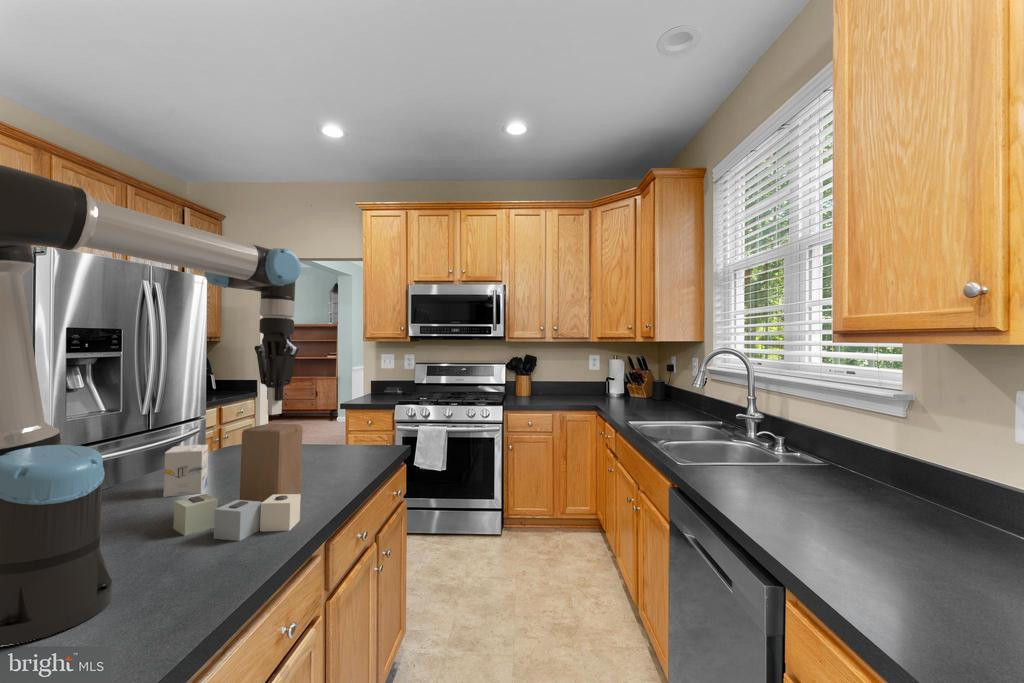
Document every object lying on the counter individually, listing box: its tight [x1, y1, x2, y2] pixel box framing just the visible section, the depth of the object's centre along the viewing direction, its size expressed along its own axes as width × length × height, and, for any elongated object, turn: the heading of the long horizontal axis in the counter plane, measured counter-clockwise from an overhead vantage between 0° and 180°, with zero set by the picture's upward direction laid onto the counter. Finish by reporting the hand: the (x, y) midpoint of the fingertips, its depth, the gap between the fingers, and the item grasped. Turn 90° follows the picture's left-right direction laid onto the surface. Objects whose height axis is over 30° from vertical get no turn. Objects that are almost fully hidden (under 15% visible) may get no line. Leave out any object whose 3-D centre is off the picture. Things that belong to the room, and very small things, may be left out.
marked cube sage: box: [173, 493, 219, 537], centre depth 96 cm, size 6×6×6 cm
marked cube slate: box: [213, 499, 262, 542], centre depth 94 cm, size 6×6×6 cm
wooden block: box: [239, 423, 304, 502], centre depth 108 cm, size 10×10×20 cm
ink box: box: [162, 443, 209, 498], centre depth 121 cm, size 9×8×12 cm
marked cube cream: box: [259, 493, 302, 532], centre depth 98 cm, size 6×6×6 cm
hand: (274, 413), depth 109 cm, fingers closed
